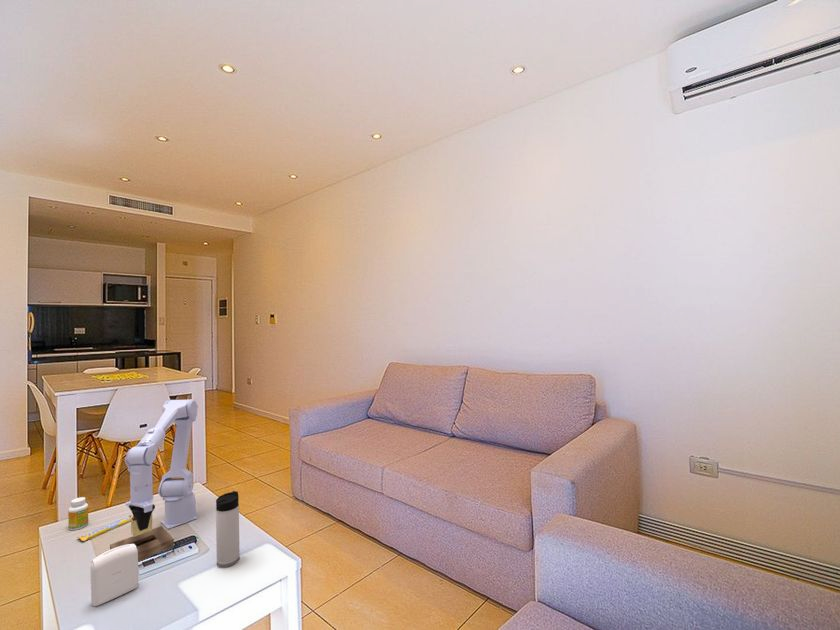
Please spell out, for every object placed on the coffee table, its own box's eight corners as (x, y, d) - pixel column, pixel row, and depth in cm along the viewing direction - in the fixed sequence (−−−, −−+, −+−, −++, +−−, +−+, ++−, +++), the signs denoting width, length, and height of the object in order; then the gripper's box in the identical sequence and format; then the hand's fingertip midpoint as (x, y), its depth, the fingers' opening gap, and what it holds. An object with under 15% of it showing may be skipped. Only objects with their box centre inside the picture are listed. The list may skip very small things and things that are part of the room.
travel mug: (245, 556, 121) (244, 492, 121) (228, 569, 115) (227, 501, 115) (229, 553, 123) (228, 489, 123) (211, 565, 117) (210, 499, 117)
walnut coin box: (161, 537, 133) (161, 525, 133) (174, 551, 125) (173, 538, 125) (110, 557, 122) (109, 544, 122) (119, 573, 114) (119, 559, 114)
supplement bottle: (76, 531, 138) (76, 503, 138) (64, 529, 139) (64, 502, 139) (92, 523, 143) (91, 496, 143) (80, 522, 144) (80, 495, 144)
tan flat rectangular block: (150, 527, 126) (149, 512, 126) (152, 530, 125) (152, 514, 125) (131, 534, 122) (131, 518, 122) (133, 537, 121) (133, 520, 121)
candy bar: (131, 518, 147) (131, 513, 147) (137, 520, 145) (137, 515, 145) (76, 541, 132) (75, 535, 132) (82, 544, 130) (82, 538, 130)
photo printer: (92, 609, 100) (92, 561, 100) (89, 601, 103) (88, 554, 103) (140, 587, 108) (140, 543, 108) (136, 581, 111) (135, 537, 111)
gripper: (120, 482, 125) (120, 525, 125) (132, 495, 116) (133, 541, 116) (146, 475, 131) (146, 516, 131) (160, 487, 121) (160, 531, 121)
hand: (142, 527), depth 124 cm, fingers closed on tan flat rectangular block, 2 cm apart
